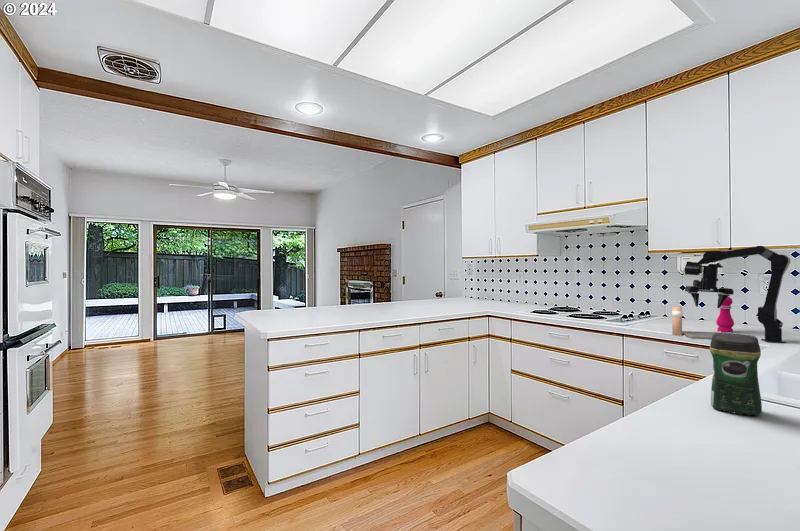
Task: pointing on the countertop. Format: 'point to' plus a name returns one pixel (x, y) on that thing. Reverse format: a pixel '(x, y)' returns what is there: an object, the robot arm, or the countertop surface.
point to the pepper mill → (725, 317)
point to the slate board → (699, 334)
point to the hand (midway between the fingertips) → (707, 307)
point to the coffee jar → (735, 373)
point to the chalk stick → (677, 320)
